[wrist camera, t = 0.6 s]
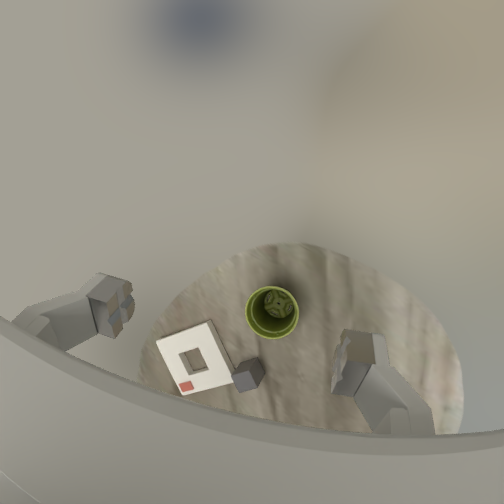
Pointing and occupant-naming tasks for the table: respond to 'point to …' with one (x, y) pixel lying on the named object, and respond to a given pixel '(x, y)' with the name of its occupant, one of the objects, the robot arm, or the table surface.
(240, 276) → the table surface
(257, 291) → the plant pot
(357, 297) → the table surface
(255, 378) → the plug
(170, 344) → the socket plate
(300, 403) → the table surface
